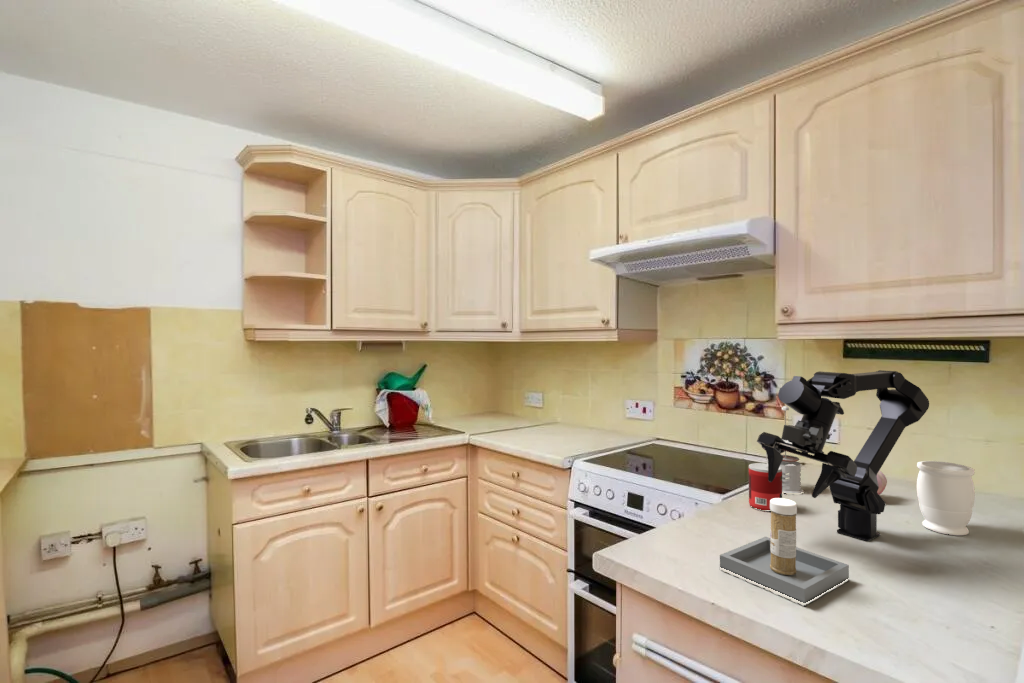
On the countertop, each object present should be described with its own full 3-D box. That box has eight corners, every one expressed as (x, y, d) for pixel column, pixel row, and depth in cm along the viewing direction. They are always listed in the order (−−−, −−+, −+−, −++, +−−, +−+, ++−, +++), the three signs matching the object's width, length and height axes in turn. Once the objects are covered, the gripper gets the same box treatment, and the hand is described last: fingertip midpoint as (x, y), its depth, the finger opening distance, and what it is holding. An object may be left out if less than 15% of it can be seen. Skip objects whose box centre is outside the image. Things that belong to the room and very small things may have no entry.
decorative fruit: (857, 492, 145) (857, 458, 145) (890, 499, 139) (890, 463, 139) (843, 498, 140) (843, 462, 140) (877, 506, 133) (877, 468, 133)
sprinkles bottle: (768, 564, 98) (768, 496, 98) (794, 567, 97) (794, 498, 97) (772, 574, 94) (771, 503, 94) (799, 578, 92) (799, 506, 92)
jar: (916, 517, 125) (916, 458, 124) (973, 527, 118) (972, 464, 118) (916, 530, 116) (916, 466, 116) (976, 542, 110) (976, 474, 110)
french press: (785, 496, 142) (784, 409, 142) (755, 484, 153) (754, 403, 153) (812, 493, 145) (812, 407, 144) (781, 482, 156) (781, 402, 156)
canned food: (788, 512, 129) (787, 470, 129) (757, 512, 129) (756, 470, 129) (773, 502, 137) (773, 462, 137) (743, 502, 137) (743, 462, 137)
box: (848, 580, 93) (848, 564, 93) (804, 606, 84) (804, 589, 84) (765, 550, 106) (765, 536, 106) (719, 570, 98) (719, 554, 98)
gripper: (759, 399, 113) (733, 462, 110) (851, 420, 98) (824, 494, 95) (779, 418, 119) (755, 478, 117) (868, 441, 104) (843, 510, 101)
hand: (790, 489), depth 107 cm, fingers open, 9 cm apart
